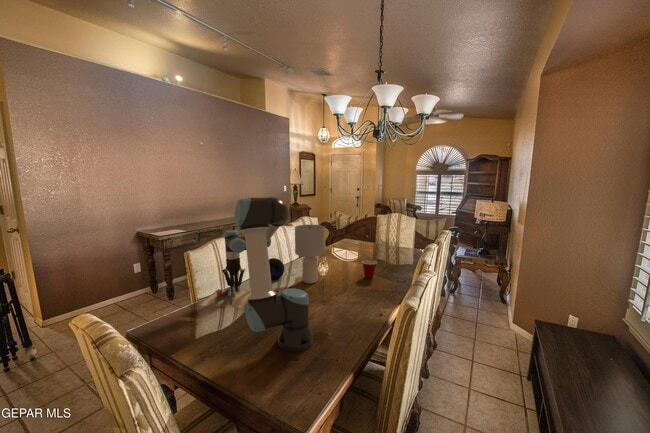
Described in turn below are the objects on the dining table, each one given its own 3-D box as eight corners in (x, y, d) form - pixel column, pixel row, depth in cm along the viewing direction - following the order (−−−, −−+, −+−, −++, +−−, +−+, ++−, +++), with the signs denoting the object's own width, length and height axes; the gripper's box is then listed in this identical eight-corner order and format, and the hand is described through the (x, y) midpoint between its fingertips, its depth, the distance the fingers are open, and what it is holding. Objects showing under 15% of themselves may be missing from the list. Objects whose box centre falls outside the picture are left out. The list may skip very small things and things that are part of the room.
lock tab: (219, 293, 161) (219, 289, 160) (222, 293, 160) (222, 289, 160) (216, 295, 158) (216, 291, 157) (219, 295, 157) (219, 291, 157)
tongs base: (231, 291, 174) (231, 282, 173) (235, 291, 174) (235, 283, 173) (214, 304, 156) (214, 295, 155) (219, 305, 155) (218, 295, 155)
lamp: (330, 283, 192) (331, 226, 186) (304, 289, 180) (304, 230, 175) (314, 274, 208) (314, 222, 203) (290, 279, 197) (289, 225, 191)
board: (258, 293, 174) (258, 291, 174) (245, 309, 153) (245, 307, 153) (218, 291, 177) (217, 289, 177) (199, 307, 155) (199, 305, 155)
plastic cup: (376, 275, 206) (377, 260, 205) (376, 281, 196) (376, 264, 194) (362, 274, 209) (362, 258, 207) (360, 279, 199) (360, 263, 197)
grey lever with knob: (229, 290, 174) (228, 280, 173) (237, 290, 175) (236, 280, 174) (224, 304, 155) (224, 293, 154) (233, 304, 156) (233, 293, 155)
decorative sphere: (269, 285, 187) (269, 263, 185) (258, 278, 198) (258, 258, 196) (288, 279, 197) (288, 259, 195) (277, 274, 208) (276, 254, 206)
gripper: (246, 256, 163) (248, 294, 166) (225, 255, 164) (227, 294, 167) (241, 259, 155) (243, 300, 158) (219, 259, 157) (221, 299, 160)
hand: (235, 297), depth 163 cm, fingers closed
